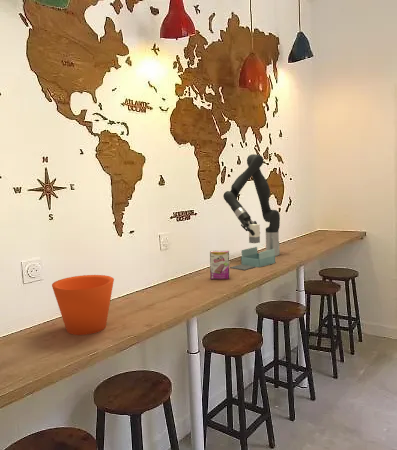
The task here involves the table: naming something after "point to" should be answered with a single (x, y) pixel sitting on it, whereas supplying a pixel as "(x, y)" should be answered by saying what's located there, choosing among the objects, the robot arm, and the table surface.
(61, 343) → the table surface
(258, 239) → the block
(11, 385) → the table surface
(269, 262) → the carton
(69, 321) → the flowerpot
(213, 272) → the candy bar box
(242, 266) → the mat
